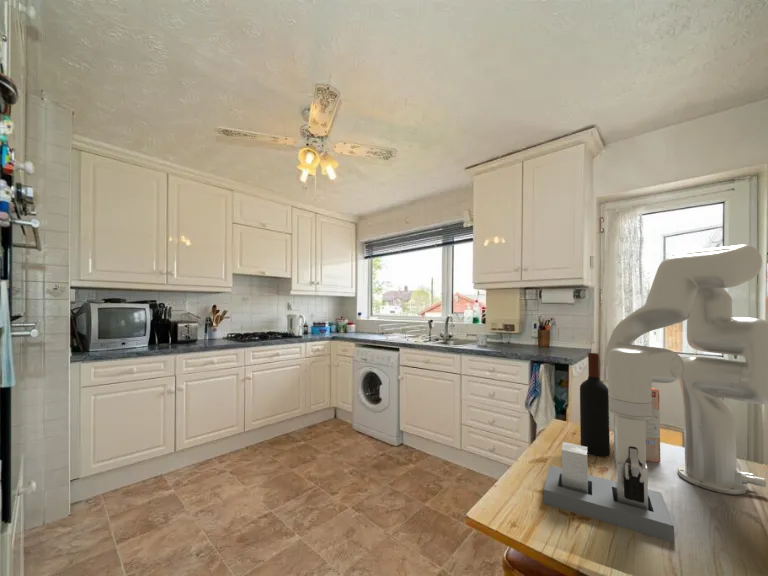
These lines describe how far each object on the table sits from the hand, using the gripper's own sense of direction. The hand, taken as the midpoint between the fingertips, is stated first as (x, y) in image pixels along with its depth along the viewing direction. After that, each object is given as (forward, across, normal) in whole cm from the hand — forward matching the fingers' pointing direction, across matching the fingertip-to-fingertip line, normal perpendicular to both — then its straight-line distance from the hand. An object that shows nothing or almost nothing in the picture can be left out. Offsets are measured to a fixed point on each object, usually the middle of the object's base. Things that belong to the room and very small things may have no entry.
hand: (631, 488), depth 70 cm
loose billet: (+5, 0, 0) cm, 5 cm away
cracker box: (+6, -40, +5) cm, 41 cm away
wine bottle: (+6, -33, -6) cm, 35 cm away
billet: (+5, 0, -10) cm, 12 cm away
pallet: (+6, 0, -5) cm, 8 cm away
